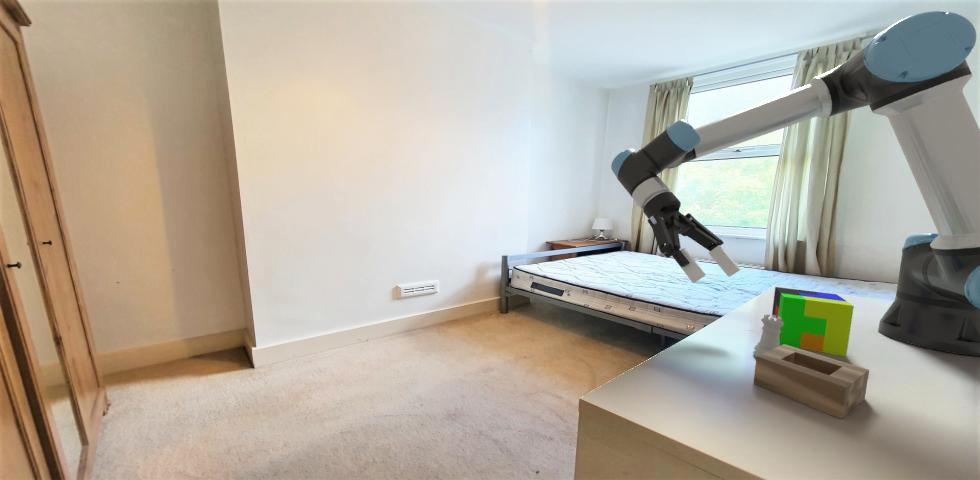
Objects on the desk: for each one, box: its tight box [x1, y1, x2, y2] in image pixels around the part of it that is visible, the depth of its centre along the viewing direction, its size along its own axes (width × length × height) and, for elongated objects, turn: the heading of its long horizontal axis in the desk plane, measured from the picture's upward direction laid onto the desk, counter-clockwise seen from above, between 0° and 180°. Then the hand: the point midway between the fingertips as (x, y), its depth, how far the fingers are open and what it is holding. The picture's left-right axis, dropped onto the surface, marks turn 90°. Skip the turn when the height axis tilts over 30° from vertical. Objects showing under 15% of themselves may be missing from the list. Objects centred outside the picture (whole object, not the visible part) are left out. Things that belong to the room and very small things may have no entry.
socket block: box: [753, 344, 870, 420], centre depth 51 cm, size 10×10×4 cm
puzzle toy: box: [771, 286, 854, 357], centre depth 71 cm, size 10×10×10 cm
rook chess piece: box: [752, 314, 784, 358], centre depth 62 cm, size 4×4×8 cm
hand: (718, 276), depth 69 cm, fingers open, 13 cm apart
